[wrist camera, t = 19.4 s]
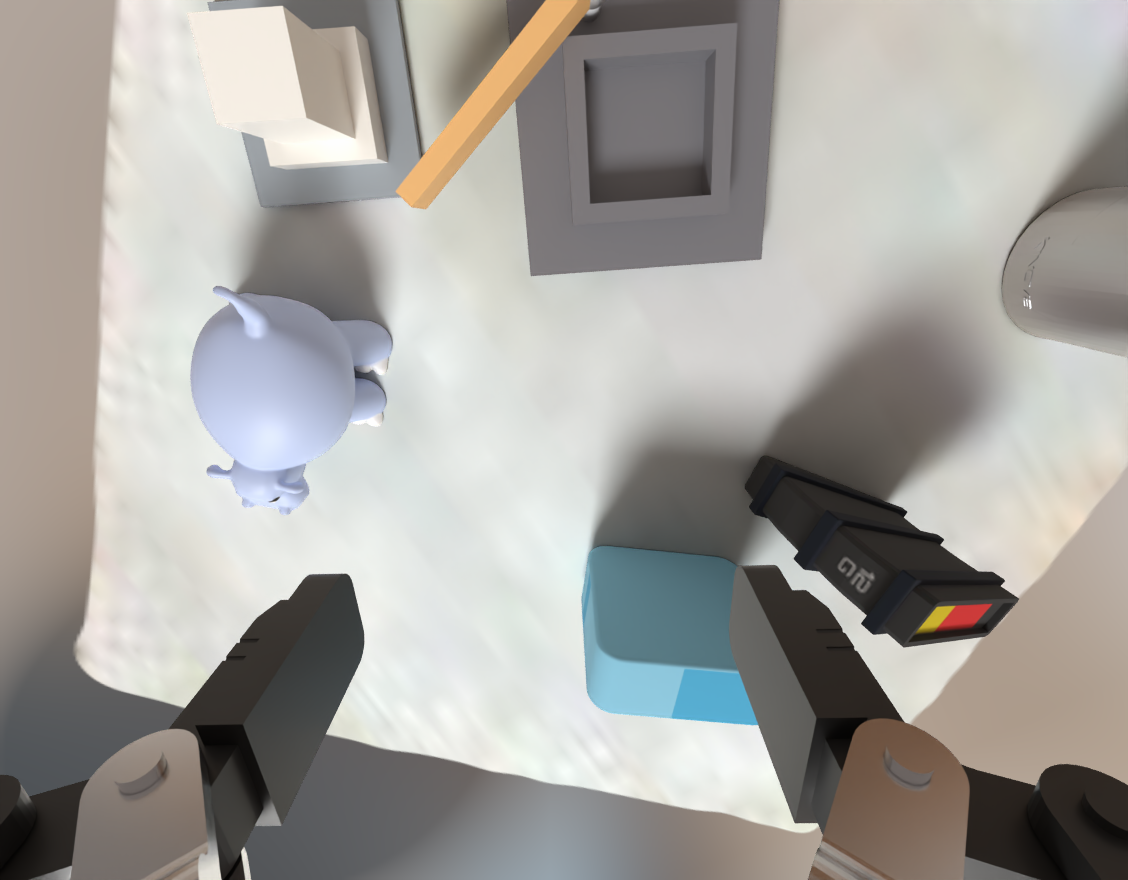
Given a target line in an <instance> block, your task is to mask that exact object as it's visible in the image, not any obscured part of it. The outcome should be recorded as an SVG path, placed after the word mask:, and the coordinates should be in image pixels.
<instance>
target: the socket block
mask: <svg viewBox="0 0 1128 880" xmlns="http://www.w3.org/2000/svg"><path fill="white" fill-rule="evenodd" d="M545 1H546V0H507V11H508V22H509V34H510V45H511V44H512V43H513V41H514V40H515V39H516V38H517V36H518V35H519V34H520V33H521V31H522V30H523V29H524V27H525V26H526V25H527V24H528V22H529V21H530V20H531V19H532V17H533V16H534V15H535V13H536V12H537V11H538V10H539V8H540V7H541V6H542V5H543V3H544V2H545ZM778 10H779V0H605V1H604V3H603V4H602V5H601V6H600V7H598V8H596V9H592V10H590V9H589V10H588V12H587V13H586V14H585V15H584V17H583V18H582V19H581V20H580V21H579V23H578V24H577V25H576V26H575V28H574V29H573V30H572V31H571V32H570V34H569V35H568V36H567V37H566V39H565V40H564V41H563V42H562V43H561V45H560V46H559V47H558V48H557V50H556V51H555V52H554V53H553V54H552V56H551V57H550V58H549V59H548V61H547V62H546V63H545V64H544V66H543V67H542V68H541V69H540V70H539V72H538V73H537V74H536V75H535V77H534V78H533V79H532V80H531V81H530V83H529V84H528V85H527V86H526V88H525V89H524V90H523V91H522V92H521V94H520V95H519V96H518V97H517V99H516V100H515V102H516V113H517V125H518V136H519V147H520V159H521V170H522V181H523V193H524V204H525V215H526V227H527V238H528V249H529V261H530V272H531V276H538V275H552V274H566V273H580V272H594V271H608V270H622V269H635V268H649V267H663V266H677V265H691V264H705V263H719V262H733V261H746V260H760V259H761V256H762V241H763V227H764V212H765V198H766V183H767V169H768V155H769V140H770V126H771V111H772V97H773V83H774V68H775V54H776V39H777V25H778Z"/></svg>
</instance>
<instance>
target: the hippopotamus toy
mask: <svg viewBox="0 0 1128 880" xmlns="http://www.w3.org/2000/svg"><path fill="white" fill-rule="evenodd" d="M213 292H214V293H215V294H217V295H218V296H220V297H223V298H225V299H226V300H228V301H230V303H229V305H227V306H226V307H224V308H222V309H221V310H220V311H218V312H217V313H216V314H215V315H213V316H212V317H211V318H210V319H209V321H208V322H207V323H206V324H205V326H204V327H203V329H202V330H201V332H200V334H199V336H198V339H197V341H196V344H195V348H194V351H193V356H192V362H191V390H192V396H193V400H194V404H195V407H196V410H197V412H198V415H199V417H200V419H201V421H202V423H203V424H204V426H205V428H206V429H207V431H208V432H209V433H210V435H211V436H212V437H213V439H214V440H215V441H216V442H217V443H218V444H219V445H220V446H221V447H222V448H223V450H224V451H225V452H227V453H228V454H229V455H230V456H231V457H232V458H234V459H235V460H234V463H233V466H232V468H231V470H228V471H226V470H222V469H221V468H220V467H219V466H217V465H212V466H210V467H208V469H207V475H208V476H210V477H212V478H223V479H230V480H231V481H232V483H233V485H234V487H235V490H236V493H237V494H238V495H239V496H241V497H242V499H243V501H242V505H243V507H246V508H250V507H252V506H254V505H260V506H265V507H269V508H275V509H279V511H280V513H281V514H282V515H288V514H290V512H291V511H292V510H294V509H296V508H298V507H299V506H300V505H301V503H302V502H303V501H304V500H305V498H306V497H307V496H308V494H309V487H308V484H307V482H306V480H305V479H304V477H303V472H304V470H305V466H306V463H307V462H310V461H312V460H314V459H316V458H317V457H319V456H321V455H322V454H324V453H325V452H326V451H328V450H329V449H330V448H331V447H332V446H333V445H334V444H335V443H336V442H337V441H338V440H339V438H340V437H341V436H342V434H343V433H344V431H345V430H346V428H347V426H348V424H349V423H354V424H358V425H362V424H364V423H365V422H367V423H368V424H369V425H371V426H380V425H381V424H382V421H383V414H382V412H383V410H384V408H385V405H386V397H385V394H384V392H383V391H382V389H381V388H380V387H379V386H378V385H376V384H375V383H374V382H372V381H370V380H367V379H363V378H355V374H354V367H355V369H356V370H357V371H359V372H362V373H368V372H370V371H371V370H374V371H375V372H376V373H377V374H379V375H384V374H386V371H387V365H388V357H389V355H390V354H391V351H392V340H391V337H390V335H389V333H388V332H387V331H386V330H385V329H384V328H383V327H382V326H381V325H379V324H377V323H375V322H372V321H368V320H345V321H331V320H330V319H329V318H328V317H327V316H326V315H324V314H323V313H322V312H320V311H319V310H317V309H316V308H314V307H312V306H310V305H308V304H305V303H302V302H299V301H296V300H292V299H288V298H283V297H277V296H268V295H257V294H253V293H242V294H237V293H235V292H233V291H231V290H229V289H227V288H225V287H222V286H216V287H214V288H213Z"/></svg>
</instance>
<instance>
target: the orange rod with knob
mask: <svg viewBox="0 0 1128 880" xmlns="http://www.w3.org/2000/svg"><path fill="white" fill-rule="evenodd" d="M604 1H605V0H546V1H545V2H544V3H543V5H542V6H541V7H540V8H539V10H538V11H537V12H536V13H535V15H534V16H533V17H532V19H531V20H530V21H529V22H528V24H527V25H526V26H525V27H524V29H523V30H522V31H521V33H520V34H519V35H518V36H517V38H516V39H515V40H514V41H513V43H512V44H511V45H510V46H509V48H508V49H507V50H506V52H505V53H504V54H503V55H502V57H501V58H500V59H499V60H498V62H497V63H496V64H495V65H494V67H493V68H492V69H491V71H490V72H489V73H488V74H487V76H486V77H485V78H484V79H483V81H482V82H481V83H480V85H479V86H478V87H477V88H476V90H475V91H474V92H473V93H472V95H471V96H470V97H469V98H468V100H467V101H466V102H465V104H464V105H463V106H462V107H461V109H460V110H459V111H458V112H457V114H456V115H455V116H454V117H453V119H452V120H451V121H450V123H449V124H448V125H447V126H446V128H445V129H444V130H443V131H442V133H441V134H440V135H439V137H438V138H437V139H436V140H435V142H434V143H433V144H432V145H431V147H430V148H429V149H428V150H427V152H426V153H425V154H424V156H423V157H422V158H421V159H420V161H419V162H418V163H417V164H416V166H415V167H414V168H413V169H412V171H411V172H410V173H409V175H408V176H407V177H406V178H405V180H404V181H403V182H402V183H401V185H400V186H399V187H398V189H397V190H396V191H395V192H396V193H397V194H399V195H400V196H401V197H402V198H403V199H404V200H405V201H406V202H407V203H408V204H409V205H410V206H411V207H414V208H421V209H427V207H428V206H429V205H430V204H431V203H432V201H433V200H434V199H435V198H436V196H437V195H438V194H439V193H440V192H441V190H442V189H443V188H444V187H445V185H446V184H447V183H448V182H449V181H450V179H451V178H452V177H453V176H454V174H455V173H456V172H457V171H458V170H459V168H460V167H461V166H462V165H463V163H464V162H465V161H466V160H467V158H468V157H469V156H470V155H471V154H472V152H473V151H474V150H475V149H476V147H477V146H478V145H479V144H480V143H481V141H482V140H483V139H484V138H485V136H486V135H487V134H488V133H489V132H490V130H491V129H492V128H493V127H494V125H495V124H496V123H497V122H498V121H499V119H500V118H501V117H502V116H503V114H504V113H505V112H506V111H507V110H508V108H509V107H510V106H511V105H512V103H513V102H514V101H515V100H516V99H517V97H518V96H519V95H520V94H521V92H522V91H523V90H524V89H525V88H526V86H527V85H528V84H529V83H530V81H531V80H532V79H533V78H534V77H535V75H536V74H537V73H538V72H539V70H540V69H541V68H542V67H543V66H544V64H545V63H546V62H547V61H548V59H549V58H550V57H551V56H552V54H553V53H554V52H555V51H556V50H557V48H558V47H559V46H560V45H561V43H562V42H563V41H564V40H565V39H566V37H567V36H568V35H569V34H570V32H571V31H572V30H573V29H574V28H575V26H576V25H577V24H578V23H579V21H580V20H581V19H582V18H583V17H584V15H585V14H586V13H587V12H588V10H589V9H590V10H592V9H596V8H598V7H600V6H601V5H602V4H603V3H604Z"/></svg>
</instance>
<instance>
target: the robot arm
mask: <svg viewBox="0 0 1128 880" xmlns="http://www.w3.org/2000/svg"><path fill="white" fill-rule="evenodd" d="M1002 293H1003V302H1004V305H1005V308H1006V311H1007V314H1008V315H1009V317H1010V318H1011V320H1012V321H1013V322H1014V324H1015V325H1017V326H1018V327H1019V328H1020V329H1022V330H1023V331H1024V332H1026V333H1029V334H1031V335H1034V336H1036V337H1041V338H1045V339H1050V340H1054V341H1058V342H1063V343H1067V344H1071V345H1076V346H1080V347H1085V348H1088V349H1092V350H1097V351H1101V352H1105V353H1110V354H1114V355H1119V356H1123V357H1127V358H1128V186H1124V187H1111V188H1098V189H1090V190H1086V191H1083V192H1079V193H1075V194H1073V195H1071V196H1069V197H1067V198H1065V199H1063V200H1061V201H1059V202H1057V203H1056V204H1054V205H1053V206H1051V207H1050V208H1049V209H1047V210H1046V211H1044V212H1043V213H1042V214H1041V215H1040V216H1039V217H1038V218H1037V219H1036V220H1035V221H1034V222H1033V223H1031V224H1030V225H1029V227H1028V228H1027V229H1026V231H1025V232H1024V233H1023V234H1022V236H1021V237H1020V238H1019V240H1018V241H1017V243H1016V245H1015V247H1014V249H1013V250H1012V252H1011V254H1010V256H1009V259H1008V262H1007V265H1006V268H1005V271H1004V276H1003V284H1002ZM729 639H730V646H731V651H732V654H733V658H734V661H735V663H736V666H737V669H738V671H739V674H740V677H741V679H742V682H743V685H744V687H745V690H746V693H747V696H748V698H749V701H750V704H751V706H752V709H753V712H754V714H755V717H756V720H757V723H758V725H759V728H760V731H761V733H762V736H763V739H764V741H765V744H766V747H767V750H768V752H769V755H770V758H771V760H772V763H773V766H774V768H775V771H776V774H777V776H778V779H779V782H780V785H781V787H782V790H783V793H784V795H785V798H786V801H787V803H788V806H789V809H790V812H791V814H792V817H793V820H794V822H795V823H818V825H819V827H820V829H821V832H822V834H823V837H822V841H821V845H820V847H819V848H818V850H817V852H816V855H815V858H814V861H813V864H812V868H811V871H810V874H809V878H808V880H1128V785H1126V784H1125V783H1123V782H1121V781H1119V780H1117V779H1115V778H1113V777H1111V776H1109V775H1106V774H1104V773H1102V772H1099V771H1096V770H1093V769H1090V768H1087V767H1082V766H1078V765H1069V764H1059V765H1054V766H1051V767H1049V768H1047V769H1045V771H1044V772H1043V773H1042V774H1041V776H1040V778H1039V780H1038V783H1037V785H1036V786H1035V785H1031V784H1027V783H1023V782H1020V781H1016V780H1012V779H1009V778H1005V777H1001V776H997V775H993V774H990V773H986V772H982V771H978V770H975V769H972V768H969V767H966V766H964V765H961V764H960V762H959V761H958V760H957V758H956V757H955V756H954V755H953V754H952V753H951V751H950V750H949V749H948V748H947V747H945V746H944V745H943V744H942V743H941V742H940V741H938V740H937V739H936V738H934V737H933V736H931V735H930V734H928V733H927V732H925V731H923V730H921V729H919V728H917V727H915V726H913V725H910V724H908V723H905V722H904V721H903V719H902V718H901V716H900V715H899V713H898V712H897V710H896V709H895V707H894V706H893V704H892V703H891V701H890V700H889V698H888V697H887V695H886V694H885V692H884V691H883V689H882V688H881V686H880V685H879V683H878V682H877V680H876V679H875V677H874V676H873V674H872V673H871V671H870V670H869V668H868V667H867V665H866V664H865V662H864V661H863V659H862V658H861V656H860V655H859V653H858V652H857V651H855V650H854V646H853V644H852V643H851V641H850V640H849V638H848V637H847V635H846V634H845V633H843V632H842V628H841V626H840V625H839V623H838V622H837V620H836V619H835V617H834V616H833V614H832V612H831V611H830V609H829V608H828V607H827V606H825V605H824V604H823V603H822V602H820V601H819V600H818V599H817V598H815V597H814V596H813V595H811V594H810V593H809V592H808V591H806V590H792V589H791V588H790V586H789V584H788V583H787V581H786V579H785V578H784V576H783V574H782V573H781V571H780V569H779V568H778V567H777V566H776V565H757V566H738V567H737V568H736V570H735V574H734V583H733V592H732V602H731V611H730V621H729ZM363 649H364V630H363V625H362V621H361V617H360V613H359V608H358V604H357V600H356V596H355V591H354V587H353V583H352V580H351V578H350V576H349V575H348V574H312V575H308V576H307V577H305V579H304V580H303V581H302V582H301V584H300V585H299V586H298V588H297V589H296V590H295V592H294V593H293V594H292V596H291V597H290V598H289V600H280V601H279V602H278V603H276V604H275V605H274V606H272V607H271V608H270V609H268V610H267V611H265V612H264V613H263V614H261V615H260V616H259V617H257V618H256V620H255V621H254V622H253V623H252V625H251V626H250V627H249V628H248V630H247V631H246V632H245V633H244V635H243V636H242V637H241V638H240V643H236V645H235V646H234V647H233V649H232V650H231V651H230V652H229V654H228V655H227V656H226V661H222V662H221V664H220V665H219V666H218V667H217V669H216V670H215V671H214V672H213V674H212V675H211V676H210V677H209V679H208V680H207V681H206V683H205V684H204V685H203V686H202V688H201V689H200V690H199V691H198V693H197V694H196V695H195V696H194V698H193V699H192V700H191V701H190V703H189V704H188V705H187V706H186V708H185V709H184V710H183V712H182V713H181V714H180V715H179V717H178V718H177V719H176V721H175V722H174V723H173V724H172V726H171V727H170V728H169V729H168V730H163V731H159V732H155V733H152V734H150V735H147V736H145V737H142V738H140V739H138V740H136V741H135V742H132V743H131V744H129V745H127V746H126V747H124V748H123V749H121V750H120V751H118V752H117V753H116V754H114V755H113V756H112V757H111V758H110V759H108V760H107V761H106V762H105V763H104V764H103V765H102V766H101V767H100V768H99V769H98V770H97V771H96V772H95V773H94V775H93V776H92V777H91V778H90V779H89V780H85V781H82V782H78V783H75V784H72V785H68V786H64V787H61V788H58V789H54V790H51V791H47V792H44V793H40V794H37V795H33V796H30V797H29V796H28V795H27V793H26V792H25V790H24V789H23V787H22V785H21V784H20V782H19V781H18V779H16V778H15V777H13V776H9V775H0V880H251V876H250V870H249V863H248V858H247V854H246V851H245V848H244V845H245V843H246V842H247V840H248V838H249V836H250V833H251V831H252V830H253V828H254V826H282V824H283V822H284V820H285V818H286V816H287V813H288V811H289V809H290V807H291V805H292V803H293V801H294V799H295V797H296V795H297V793H298V790H299V788H300V786H301V784H302V782H303V780H304V778H305V776H306V774H307V772H308V770H309V768H310V766H311V763H312V761H313V759H314V757H315V755H316V753H317V751H318V749H319V747H320V745H321V743H322V740H323V738H324V736H325V734H326V732H327V730H328V728H329V726H330V724H331V722H332V720H333V718H334V715H335V713H336V711H337V709H338V707H339V705H340V703H341V701H342V699H343V697H344V695H345V693H346V690H347V688H348V686H349V684H350V682H351V680H352V678H353V676H354V674H355V672H356V670H357V668H358V665H359V663H360V661H361V658H362V654H363Z"/></svg>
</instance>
